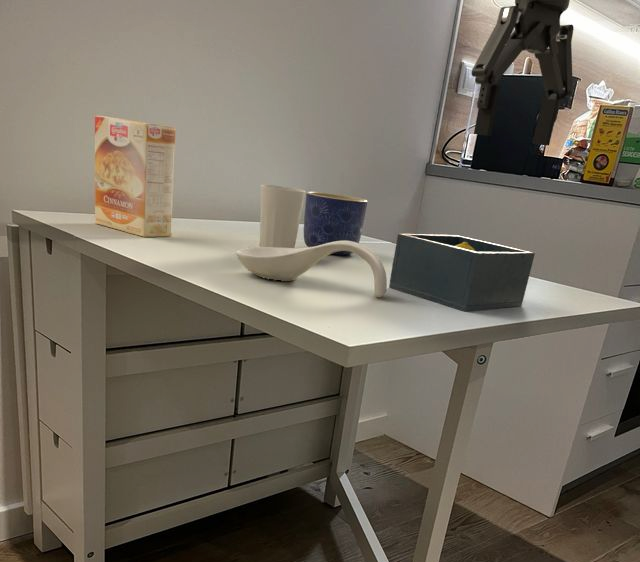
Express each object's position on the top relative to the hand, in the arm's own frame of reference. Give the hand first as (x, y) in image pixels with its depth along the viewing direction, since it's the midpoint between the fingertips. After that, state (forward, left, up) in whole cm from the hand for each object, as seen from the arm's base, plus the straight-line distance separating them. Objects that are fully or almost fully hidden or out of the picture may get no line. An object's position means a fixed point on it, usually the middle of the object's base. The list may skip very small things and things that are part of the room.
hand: (512, 140), depth 101 cm
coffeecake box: (+55, +40, -25) cm, 72 cm away
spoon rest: (+10, +28, -25) cm, 38 cm away
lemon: (+1, +5, -24) cm, 24 cm away
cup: (+32, +21, -25) cm, 45 cm away
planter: (+39, +4, -25) cm, 46 cm away
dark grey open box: (+1, +5, -24) cm, 25 cm away
